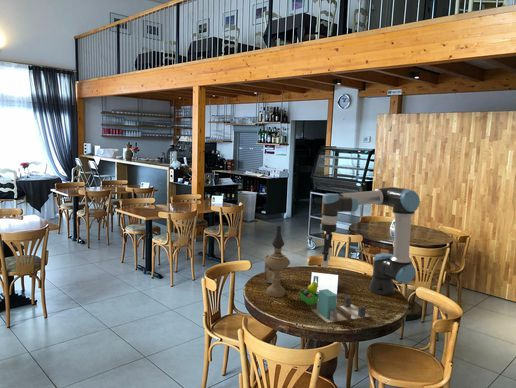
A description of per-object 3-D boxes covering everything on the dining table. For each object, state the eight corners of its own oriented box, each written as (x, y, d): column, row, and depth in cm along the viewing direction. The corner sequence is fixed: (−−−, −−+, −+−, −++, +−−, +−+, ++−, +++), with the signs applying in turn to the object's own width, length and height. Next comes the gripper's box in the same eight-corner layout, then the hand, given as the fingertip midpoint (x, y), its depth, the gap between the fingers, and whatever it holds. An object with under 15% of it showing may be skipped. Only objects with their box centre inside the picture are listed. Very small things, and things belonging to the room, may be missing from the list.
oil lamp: (283, 288, 248) (287, 223, 243) (292, 297, 234) (295, 229, 228) (260, 289, 244) (262, 224, 239) (266, 299, 230) (270, 229, 224)
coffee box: (280, 281, 260) (281, 256, 258) (277, 284, 254) (279, 259, 252) (266, 279, 263) (267, 255, 261) (263, 282, 257) (264, 257, 255)
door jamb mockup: (352, 305, 226) (353, 295, 225) (370, 317, 211) (371, 306, 210) (311, 310, 216) (311, 300, 215) (327, 323, 201) (327, 313, 201)
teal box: (326, 310, 215) (327, 289, 214) (335, 317, 207) (336, 295, 206) (317, 312, 213) (319, 290, 212) (326, 319, 205) (328, 296, 204)
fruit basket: (297, 299, 232) (298, 279, 230) (311, 297, 235) (312, 278, 233) (307, 306, 221) (308, 286, 220) (321, 305, 224) (322, 285, 223)
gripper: (324, 218, 224) (321, 256, 226) (319, 227, 200) (316, 268, 202) (338, 220, 222) (335, 258, 224) (335, 228, 198) (331, 270, 200)
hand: (326, 263), depth 213 cm, fingers open, 13 cm apart
